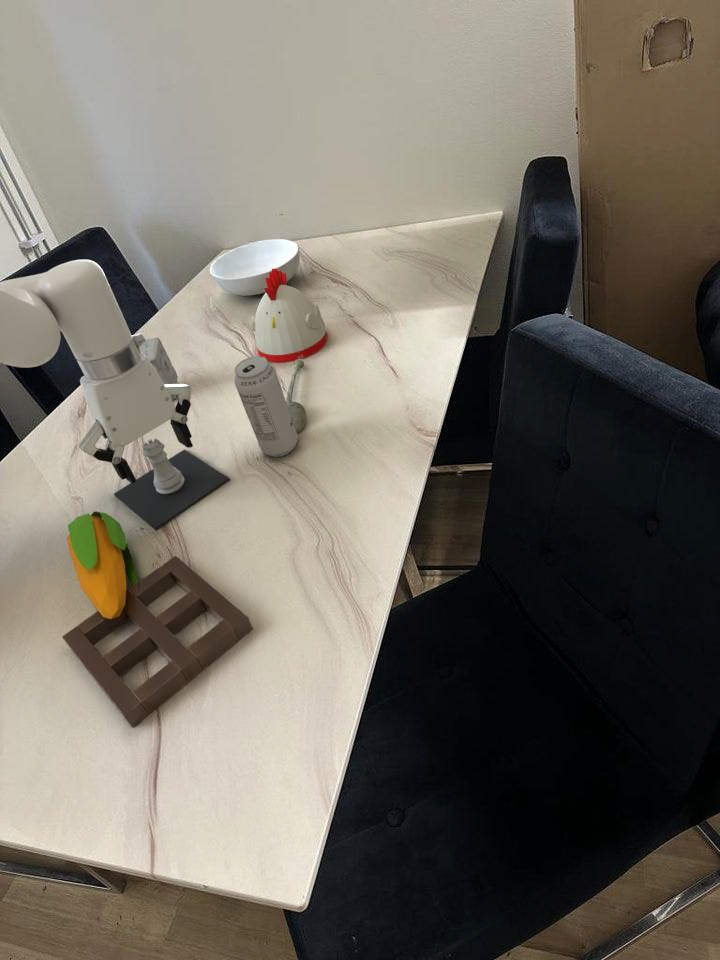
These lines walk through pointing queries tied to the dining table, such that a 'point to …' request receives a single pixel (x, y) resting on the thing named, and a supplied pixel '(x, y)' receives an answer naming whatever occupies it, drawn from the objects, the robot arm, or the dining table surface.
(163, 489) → the rook chess piece
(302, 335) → the kitchen timer
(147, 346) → the grey block
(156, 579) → the window frame
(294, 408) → the soupspoon
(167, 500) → the coaster
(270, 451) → the energy drink can
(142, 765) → the dining table surface
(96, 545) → the corn
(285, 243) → the serving bowl
